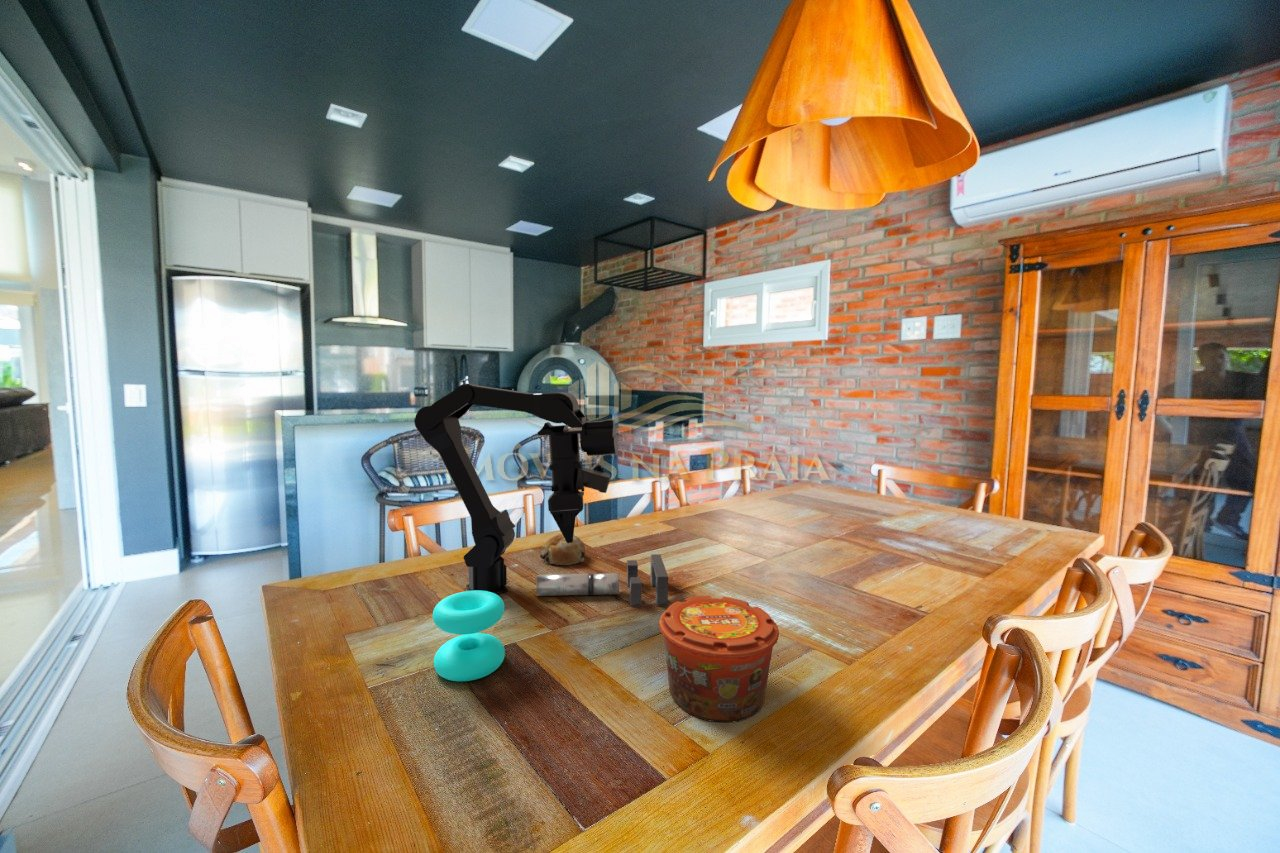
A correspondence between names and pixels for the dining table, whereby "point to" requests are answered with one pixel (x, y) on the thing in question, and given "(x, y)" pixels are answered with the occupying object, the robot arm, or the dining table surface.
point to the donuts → (468, 635)
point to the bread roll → (563, 551)
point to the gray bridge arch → (659, 580)
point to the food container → (718, 656)
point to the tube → (577, 584)
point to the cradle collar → (634, 583)
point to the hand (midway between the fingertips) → (570, 535)
